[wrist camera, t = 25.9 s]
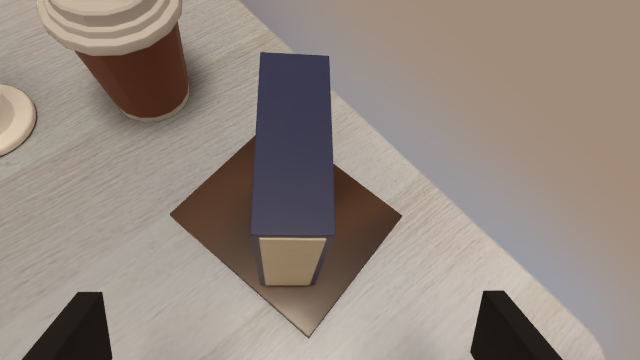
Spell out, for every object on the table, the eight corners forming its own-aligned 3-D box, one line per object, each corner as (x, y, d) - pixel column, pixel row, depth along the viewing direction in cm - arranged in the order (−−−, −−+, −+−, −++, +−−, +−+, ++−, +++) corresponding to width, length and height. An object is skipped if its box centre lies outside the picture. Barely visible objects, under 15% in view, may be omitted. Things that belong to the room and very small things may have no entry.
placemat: (400, 217, 33) (402, 215, 33) (308, 338, 28) (308, 337, 28) (273, 121, 36) (273, 118, 35) (170, 216, 31) (169, 214, 31)
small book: (312, 154, 34) (329, 55, 23) (314, 286, 30) (336, 237, 19) (265, 153, 34) (260, 51, 23) (259, 286, 29) (249, 236, 18)
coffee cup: (79, 82, 36) (-6, -42, 25) (170, 39, 39) (130, -89, 28) (132, 154, 33) (62, 50, 22) (224, 101, 36) (203, -13, 26)
